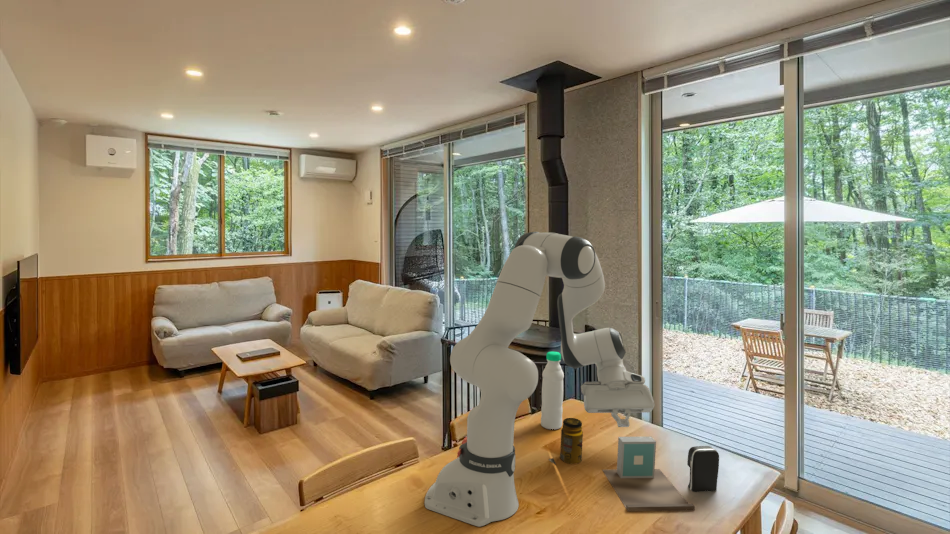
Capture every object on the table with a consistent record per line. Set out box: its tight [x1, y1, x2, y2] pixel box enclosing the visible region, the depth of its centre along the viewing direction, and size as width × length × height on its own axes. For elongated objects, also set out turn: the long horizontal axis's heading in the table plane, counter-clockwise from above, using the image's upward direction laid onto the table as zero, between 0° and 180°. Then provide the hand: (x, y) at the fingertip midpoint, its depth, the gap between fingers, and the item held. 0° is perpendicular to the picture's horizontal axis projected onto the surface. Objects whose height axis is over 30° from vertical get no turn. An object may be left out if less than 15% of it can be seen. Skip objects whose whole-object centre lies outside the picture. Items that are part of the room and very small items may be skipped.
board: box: [602, 468, 696, 512], centre depth 122 cm, size 19×16×2 cm
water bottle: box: [540, 351, 565, 431], centre depth 160 cm, size 7×7×25 cm
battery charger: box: [687, 445, 720, 493], centre depth 123 cm, size 7×4×11 cm, turn 96°
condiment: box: [548, 417, 584, 466], centre depth 136 cm, size 7×8×12 cm
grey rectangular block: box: [616, 436, 657, 478], centre depth 128 cm, size 9×3×10 cm, turn 93°
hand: (623, 426), depth 137 cm, fingers closed
